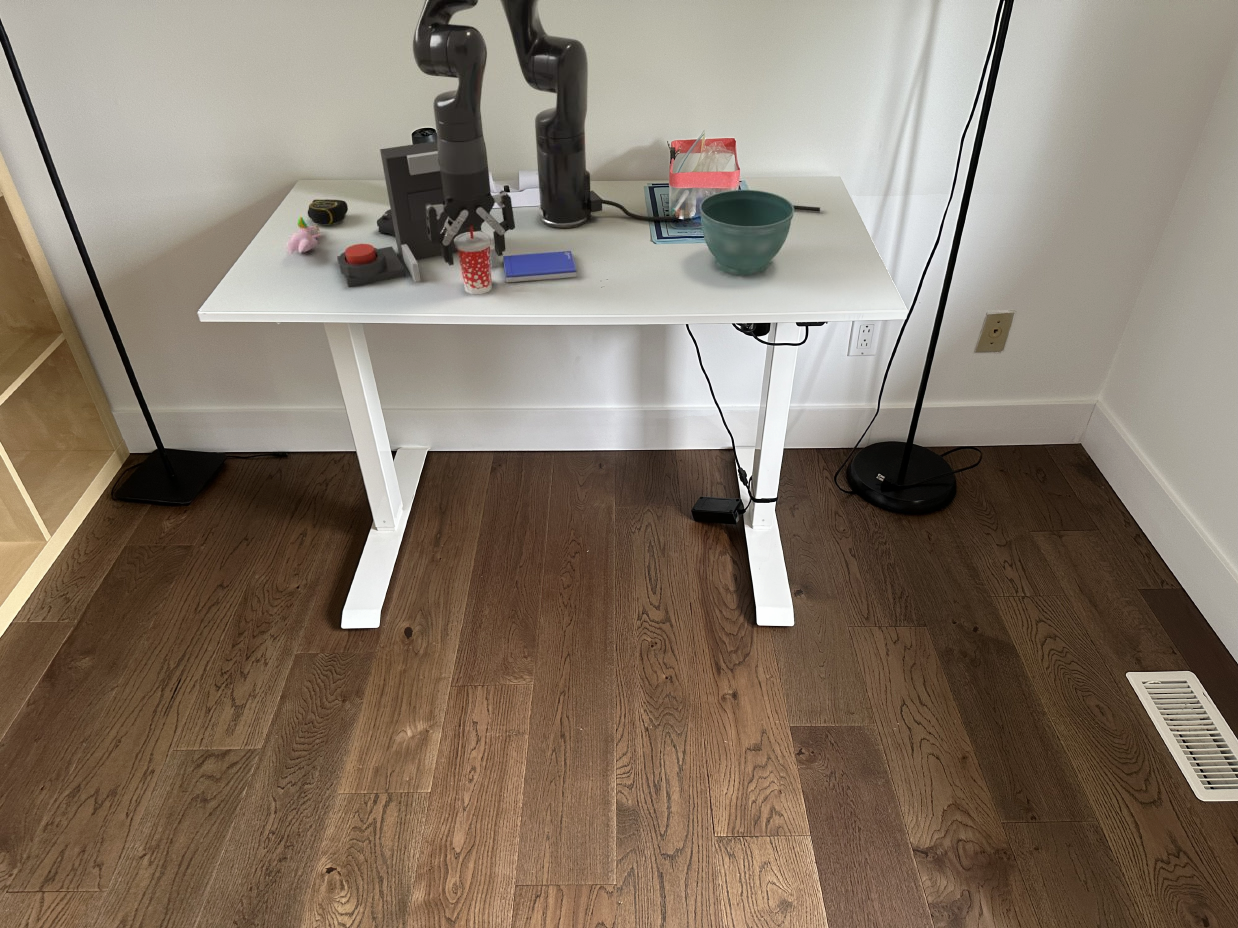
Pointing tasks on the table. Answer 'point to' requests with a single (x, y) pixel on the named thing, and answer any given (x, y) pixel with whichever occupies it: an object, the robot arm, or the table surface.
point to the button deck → (372, 268)
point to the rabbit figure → (303, 238)
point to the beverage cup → (475, 261)
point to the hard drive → (539, 266)
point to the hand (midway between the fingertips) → (475, 258)
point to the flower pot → (745, 229)
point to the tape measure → (327, 211)
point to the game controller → (386, 223)
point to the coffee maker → (417, 201)
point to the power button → (360, 254)
